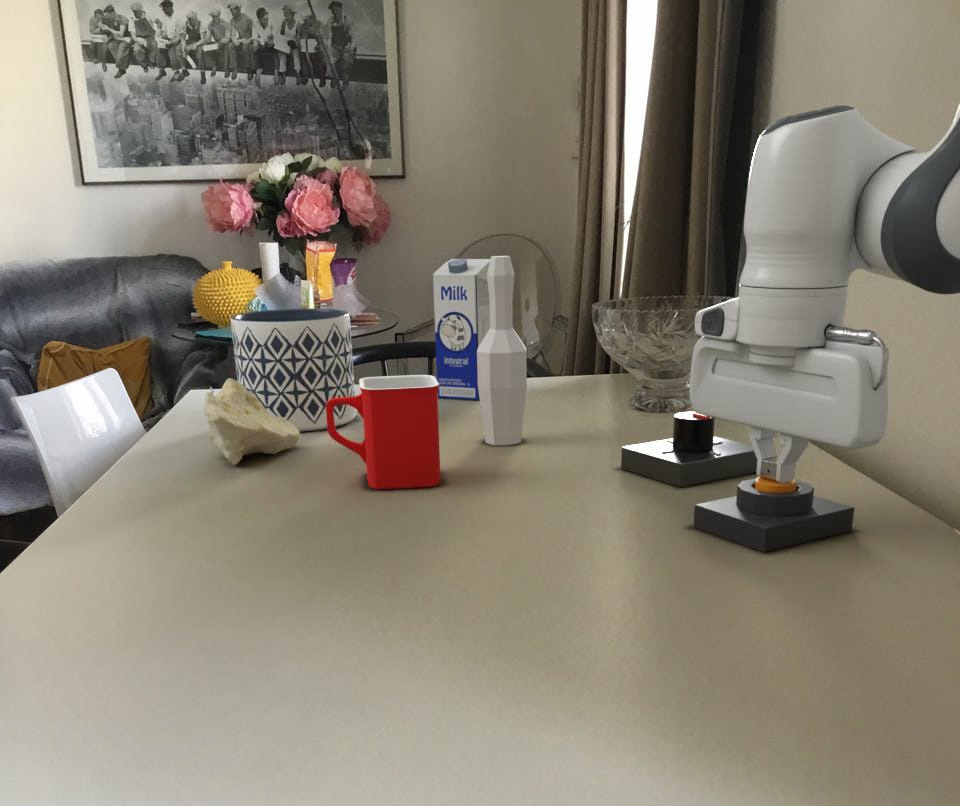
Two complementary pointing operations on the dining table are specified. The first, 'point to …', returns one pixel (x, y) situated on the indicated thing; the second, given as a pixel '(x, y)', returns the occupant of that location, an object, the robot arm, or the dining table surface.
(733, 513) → the button base
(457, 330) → the milk carton
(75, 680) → the dining table surface
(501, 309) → the low poly bottle
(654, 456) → the dial panel
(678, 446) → the temp dial
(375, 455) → the mug
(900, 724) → the dining table surface
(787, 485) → the button
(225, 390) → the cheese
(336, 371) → the planter
